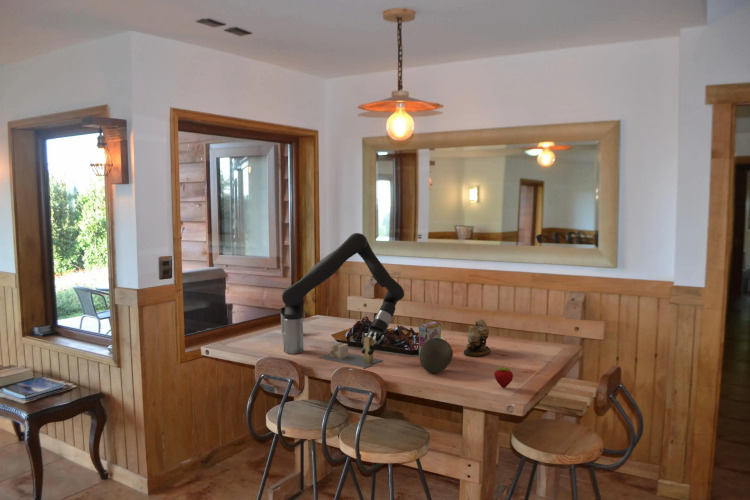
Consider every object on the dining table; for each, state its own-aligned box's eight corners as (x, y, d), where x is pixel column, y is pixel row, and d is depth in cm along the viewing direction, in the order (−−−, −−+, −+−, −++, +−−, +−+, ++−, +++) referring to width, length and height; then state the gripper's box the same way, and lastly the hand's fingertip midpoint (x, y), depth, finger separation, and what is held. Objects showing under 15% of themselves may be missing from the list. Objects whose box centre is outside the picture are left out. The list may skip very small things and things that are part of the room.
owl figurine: (472, 346, 288) (472, 314, 286) (494, 349, 282) (495, 316, 281) (459, 355, 273) (459, 320, 271) (482, 358, 267) (483, 323, 265)
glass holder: (279, 333, 323) (278, 307, 322) (304, 331, 328) (303, 305, 326) (281, 336, 315) (280, 310, 314) (306, 334, 319) (306, 308, 318)
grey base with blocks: (318, 358, 270) (318, 333, 269) (337, 352, 282) (337, 327, 280) (364, 368, 254) (364, 341, 253) (383, 361, 265) (382, 335, 264)
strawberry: (511, 391, 221) (511, 367, 220) (492, 389, 225) (492, 364, 224) (514, 387, 227) (514, 362, 226) (496, 384, 230) (496, 360, 229)
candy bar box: (426, 360, 265) (426, 326, 263) (418, 358, 268) (418, 324, 267) (441, 355, 273) (441, 322, 271) (433, 353, 276) (433, 320, 275)
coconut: (429, 379, 238) (429, 344, 237) (414, 369, 251) (414, 336, 250) (458, 374, 244) (458, 340, 243) (441, 365, 257) (441, 333, 256)
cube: (330, 357, 271) (330, 344, 271) (338, 354, 276) (338, 342, 275) (340, 359, 268) (339, 346, 267) (348, 356, 272) (347, 344, 272)
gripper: (366, 316, 269) (350, 347, 261) (390, 319, 261) (374, 351, 252) (372, 325, 274) (357, 355, 265) (396, 328, 266) (381, 360, 257)
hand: (366, 353), depth 259 cm, fingers closed on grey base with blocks, 3 cm apart
